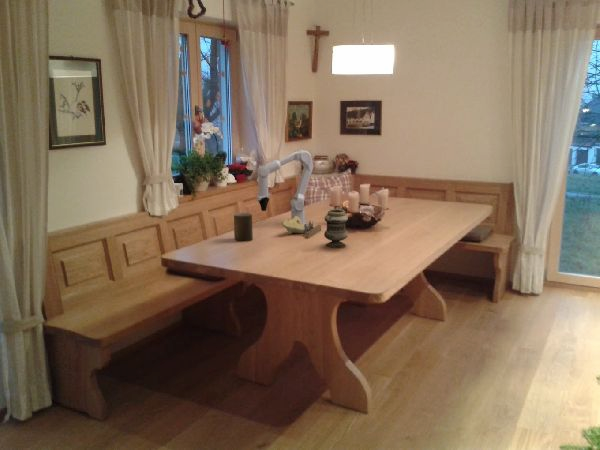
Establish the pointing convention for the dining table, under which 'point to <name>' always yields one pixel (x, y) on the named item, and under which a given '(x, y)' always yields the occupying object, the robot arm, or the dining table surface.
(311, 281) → the dining table surface
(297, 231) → the cheese
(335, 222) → the apothecary jar
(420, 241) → the dining table surface
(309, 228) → the brown piece
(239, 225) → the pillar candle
